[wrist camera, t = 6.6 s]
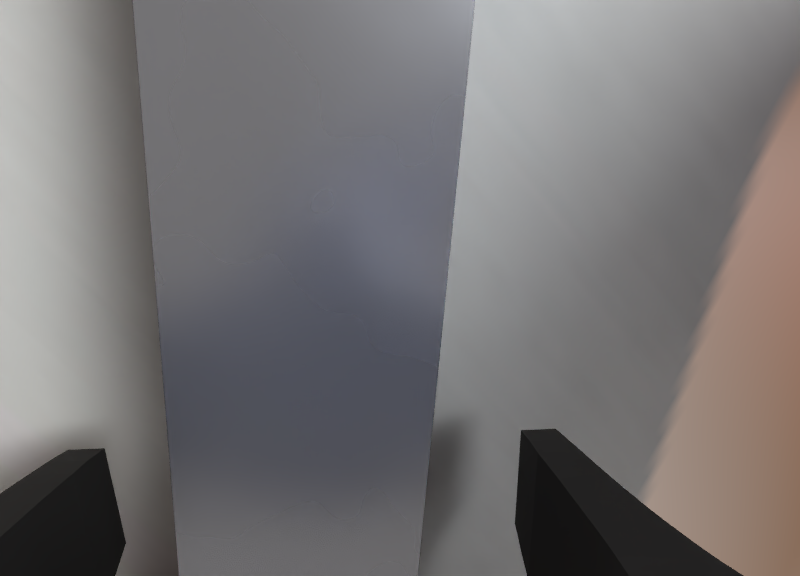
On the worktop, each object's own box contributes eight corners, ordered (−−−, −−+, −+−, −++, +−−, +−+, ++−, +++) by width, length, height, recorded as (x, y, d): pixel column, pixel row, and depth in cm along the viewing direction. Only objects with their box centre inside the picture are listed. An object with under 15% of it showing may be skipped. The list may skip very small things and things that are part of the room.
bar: (450, -239, 8) (540, -569, 4) (380, 670, 15) (386, 923, 10) (226, -264, 8) (69, -641, 4) (252, 671, 14) (203, 930, 10)
